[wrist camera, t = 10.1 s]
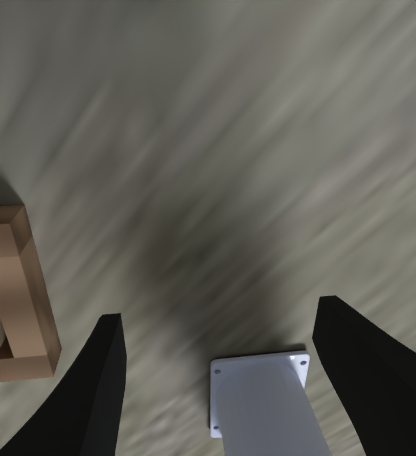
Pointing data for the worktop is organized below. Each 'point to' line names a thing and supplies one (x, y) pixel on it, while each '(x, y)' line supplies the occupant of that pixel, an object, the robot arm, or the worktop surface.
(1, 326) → the peg
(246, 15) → the worktop surface
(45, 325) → the holder
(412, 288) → the worktop surface
